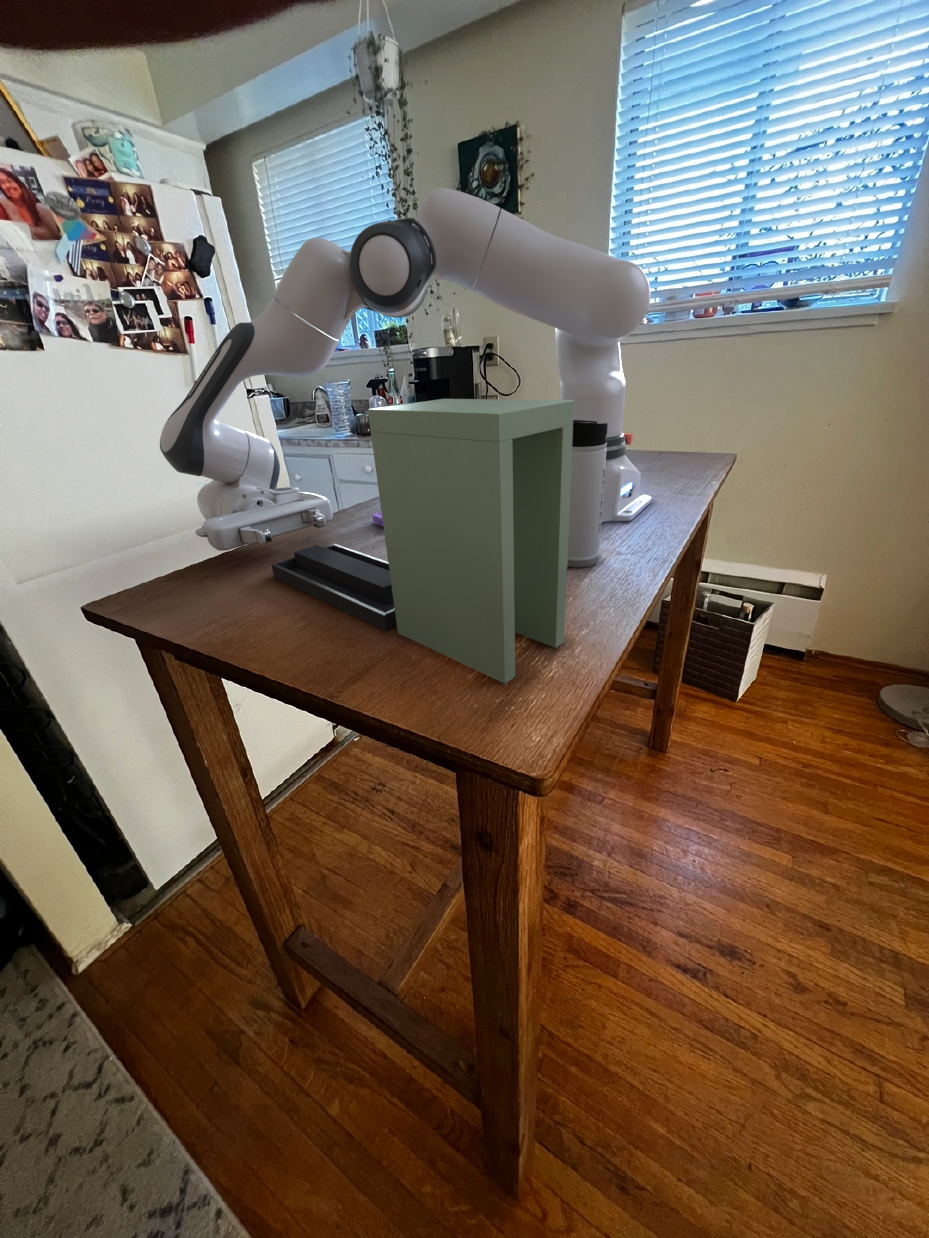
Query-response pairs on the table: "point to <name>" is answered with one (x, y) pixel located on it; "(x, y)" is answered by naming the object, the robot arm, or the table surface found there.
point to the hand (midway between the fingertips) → (295, 529)
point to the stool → (476, 523)
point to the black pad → (346, 572)
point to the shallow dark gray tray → (339, 589)
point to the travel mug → (586, 492)
